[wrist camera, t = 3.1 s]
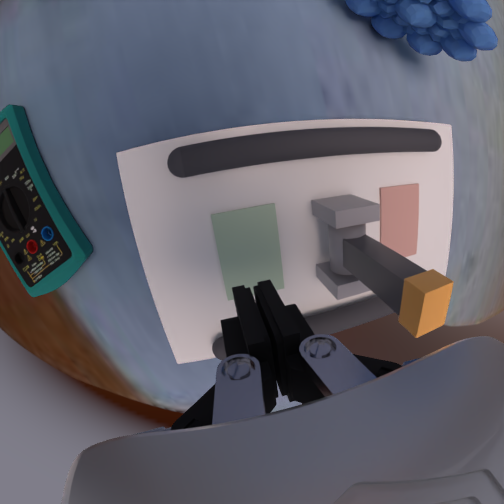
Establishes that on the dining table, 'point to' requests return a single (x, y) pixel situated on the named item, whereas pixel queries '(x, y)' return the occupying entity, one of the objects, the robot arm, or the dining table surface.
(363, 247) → the breaker lever
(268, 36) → the dining table surface
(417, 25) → the grapes
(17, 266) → the digital multimeter
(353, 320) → the pair of dark bars
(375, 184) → the switch base plate
